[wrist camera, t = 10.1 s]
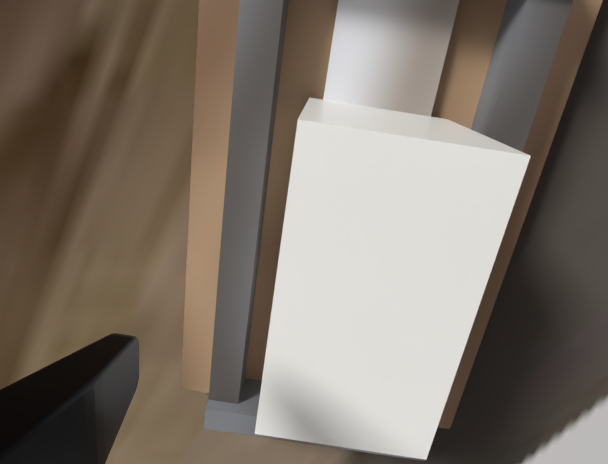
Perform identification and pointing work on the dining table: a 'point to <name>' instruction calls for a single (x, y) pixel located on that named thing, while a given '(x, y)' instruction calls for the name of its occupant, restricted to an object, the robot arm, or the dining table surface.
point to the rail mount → (359, 91)
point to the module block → (380, 274)
